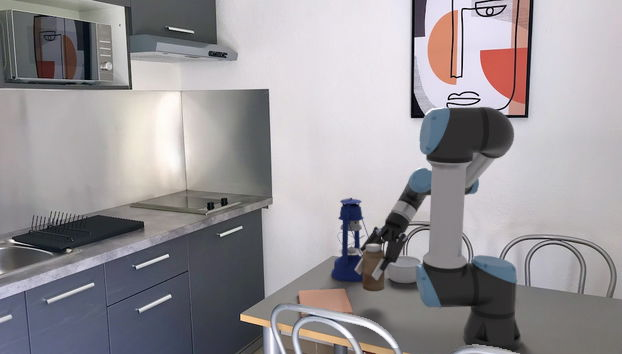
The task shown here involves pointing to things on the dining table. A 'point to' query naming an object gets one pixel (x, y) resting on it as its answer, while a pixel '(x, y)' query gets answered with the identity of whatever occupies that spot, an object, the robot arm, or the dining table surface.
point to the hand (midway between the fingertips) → (365, 274)
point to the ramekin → (403, 269)
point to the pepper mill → (372, 267)
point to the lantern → (350, 256)
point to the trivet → (326, 300)
